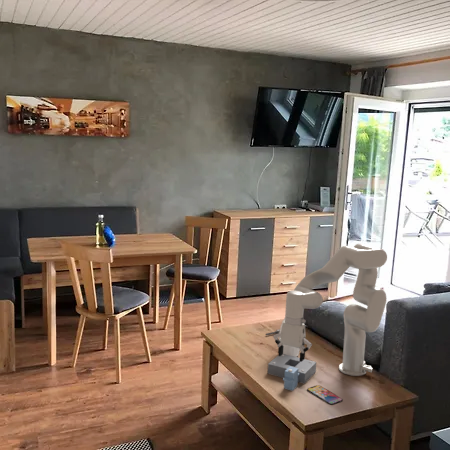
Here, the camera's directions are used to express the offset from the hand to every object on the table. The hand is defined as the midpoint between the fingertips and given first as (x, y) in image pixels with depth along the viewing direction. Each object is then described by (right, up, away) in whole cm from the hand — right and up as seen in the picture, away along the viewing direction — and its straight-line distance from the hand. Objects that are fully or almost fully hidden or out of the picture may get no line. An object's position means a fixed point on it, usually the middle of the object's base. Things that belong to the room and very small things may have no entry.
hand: (291, 358), depth 222 cm
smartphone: (+14, -15, -4) cm, 21 cm away
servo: (0, -13, +3) cm, 14 cm away
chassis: (+2, -11, +16) cm, 20 cm away
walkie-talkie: (+4, -4, +61) cm, 62 cm away
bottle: (+4, -8, +36) cm, 37 cm away
